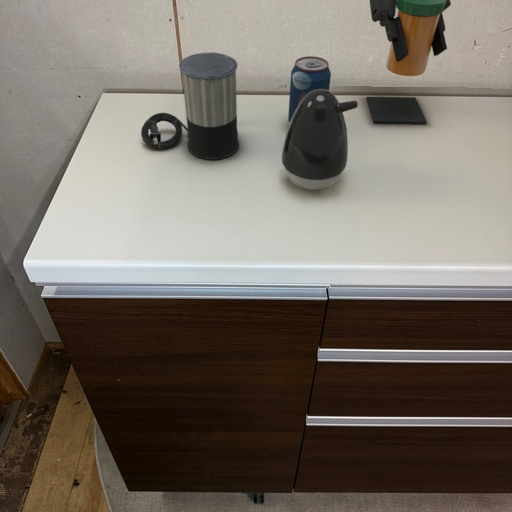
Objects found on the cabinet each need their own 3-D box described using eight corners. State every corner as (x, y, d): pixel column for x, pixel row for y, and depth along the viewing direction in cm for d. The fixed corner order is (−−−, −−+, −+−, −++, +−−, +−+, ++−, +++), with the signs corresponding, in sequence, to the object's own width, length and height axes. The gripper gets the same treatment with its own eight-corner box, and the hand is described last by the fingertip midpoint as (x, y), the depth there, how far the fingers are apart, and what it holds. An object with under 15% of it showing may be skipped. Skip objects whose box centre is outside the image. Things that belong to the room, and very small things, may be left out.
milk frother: (248, 153, 82) (247, 69, 72) (161, 176, 77) (147, 89, 67) (216, 116, 91) (212, 37, 81) (137, 135, 86) (121, 53, 76)
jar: (411, 58, 90) (427, -9, 82) (432, 73, 85) (452, 4, 77) (379, 63, 88) (392, -5, 80) (399, 78, 84) (415, 8, 75)
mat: (414, 99, 97) (415, 97, 96) (426, 124, 90) (426, 121, 89) (366, 99, 97) (366, 96, 97) (373, 123, 90) (374, 120, 90)
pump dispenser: (338, 204, 73) (353, 113, 62) (273, 192, 75) (277, 102, 64) (349, 168, 79) (364, 80, 69) (289, 157, 82) (294, 71, 71)
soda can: (300, 139, 86) (306, 74, 77) (280, 122, 90) (284, 59, 82) (331, 129, 88) (340, 66, 80) (311, 114, 92) (317, 52, 84)
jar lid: (425, -2, 83) (428, -13, 82) (453, 13, 78) (456, 1, 77) (387, 3, 81) (389, -9, 80) (412, 18, 76) (415, 6, 75)
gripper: (428, -66, 87) (455, 57, 88) (330, -58, 82) (360, 72, 83) (454, -96, 80) (484, 37, 81) (349, -89, 75) (382, 53, 76)
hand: (421, 55), depth 82 cm, fingers closed on jar, 7 cm apart
